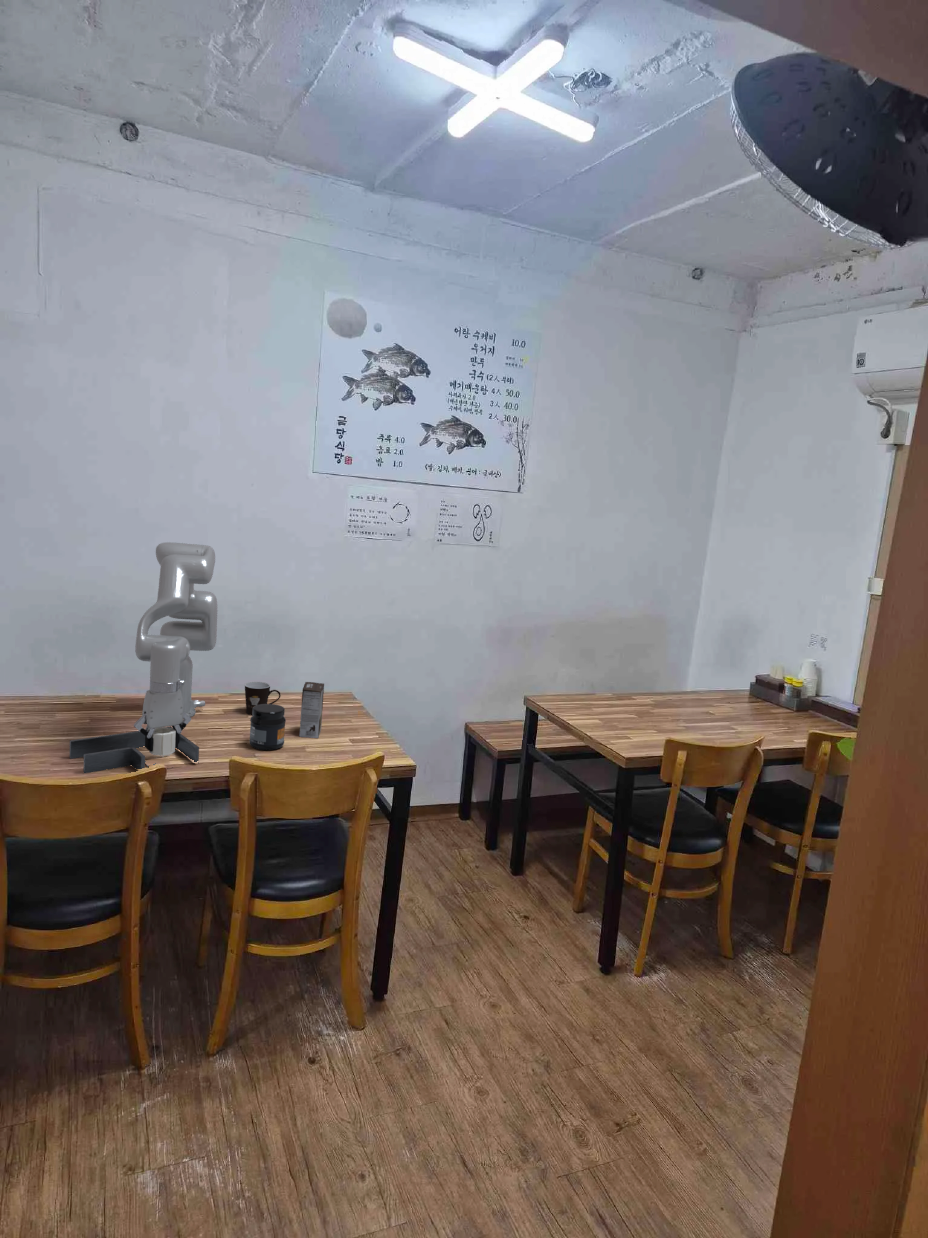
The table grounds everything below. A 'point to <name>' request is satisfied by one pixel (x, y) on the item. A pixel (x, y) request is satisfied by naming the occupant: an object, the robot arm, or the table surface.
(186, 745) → the rail course
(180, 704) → the robot arm
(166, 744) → the cream ring
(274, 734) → the supplement container
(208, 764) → the table surface
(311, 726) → the coffee box
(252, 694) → the coffee mug
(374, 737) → the table surface
